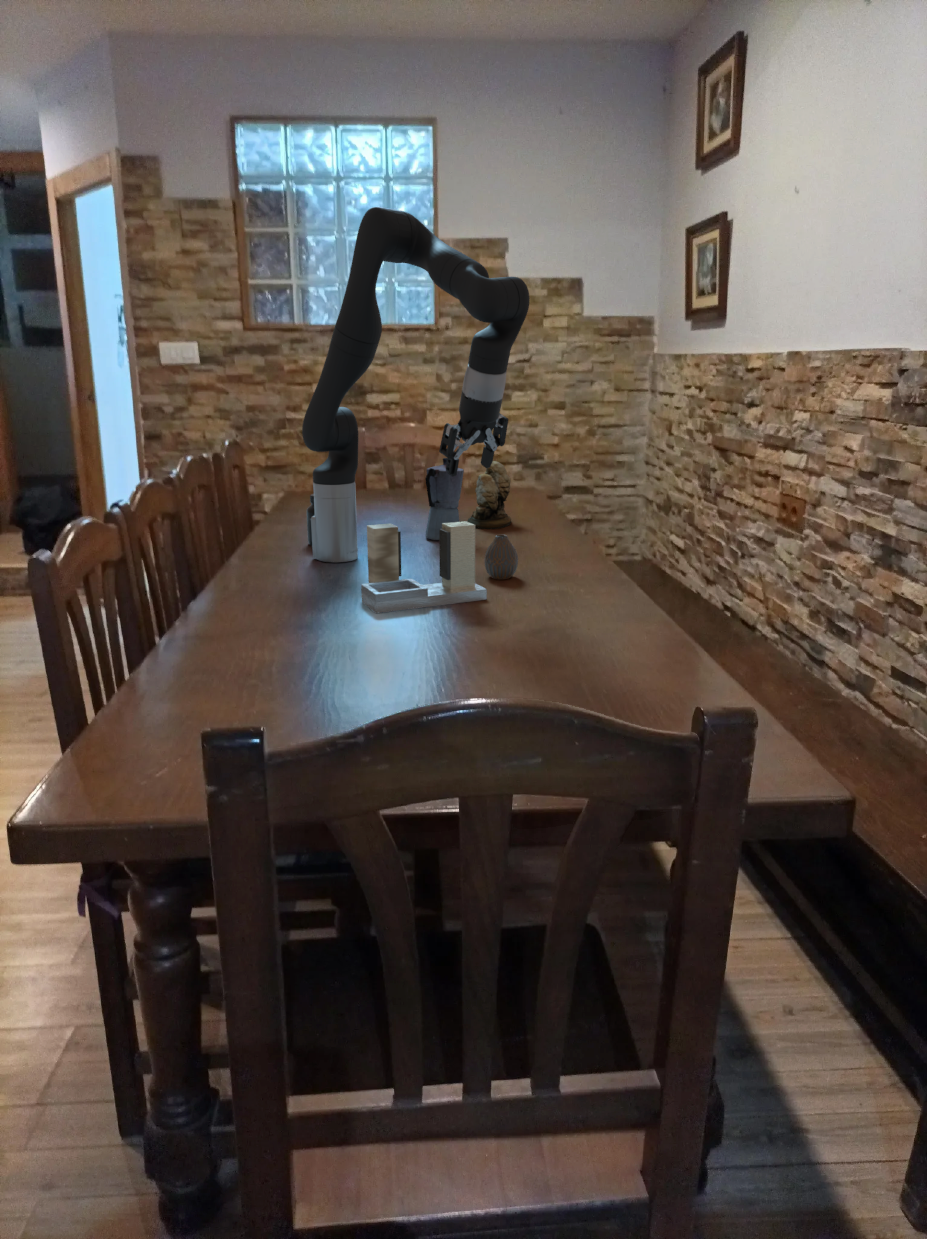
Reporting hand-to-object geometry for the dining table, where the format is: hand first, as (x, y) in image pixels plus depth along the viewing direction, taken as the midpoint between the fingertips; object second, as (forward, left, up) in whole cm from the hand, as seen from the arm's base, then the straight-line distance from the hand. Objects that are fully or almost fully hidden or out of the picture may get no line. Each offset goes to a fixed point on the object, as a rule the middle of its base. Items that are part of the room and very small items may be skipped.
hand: (468, 470), depth 166 cm
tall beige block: (-15, -7, -23) cm, 28 cm away
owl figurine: (-23, +64, -23) cm, 72 cm away
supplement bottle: (-49, +21, -23) cm, 58 cm away
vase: (+3, +9, -23) cm, 25 cm away
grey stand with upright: (-3, -14, -23) cm, 27 cm away
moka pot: (-25, +39, -23) cm, 52 cm away
